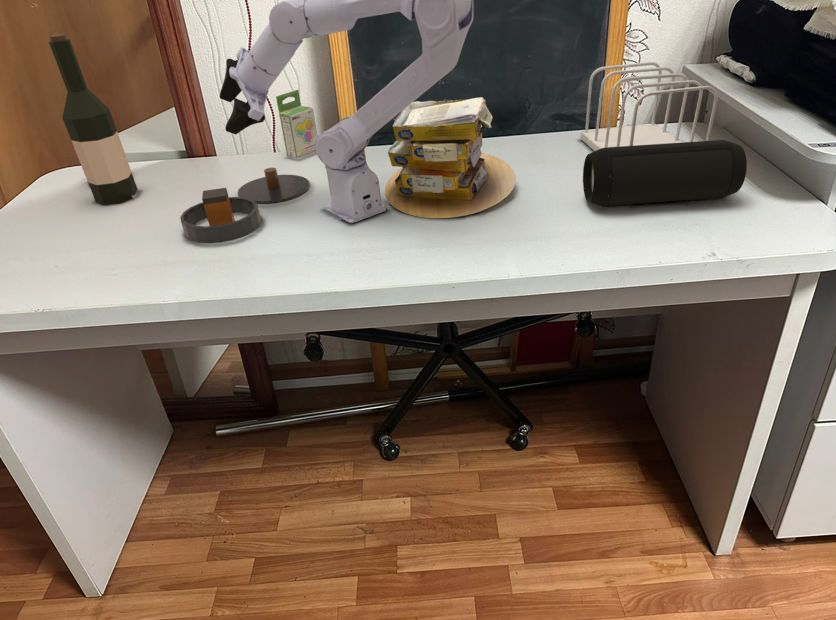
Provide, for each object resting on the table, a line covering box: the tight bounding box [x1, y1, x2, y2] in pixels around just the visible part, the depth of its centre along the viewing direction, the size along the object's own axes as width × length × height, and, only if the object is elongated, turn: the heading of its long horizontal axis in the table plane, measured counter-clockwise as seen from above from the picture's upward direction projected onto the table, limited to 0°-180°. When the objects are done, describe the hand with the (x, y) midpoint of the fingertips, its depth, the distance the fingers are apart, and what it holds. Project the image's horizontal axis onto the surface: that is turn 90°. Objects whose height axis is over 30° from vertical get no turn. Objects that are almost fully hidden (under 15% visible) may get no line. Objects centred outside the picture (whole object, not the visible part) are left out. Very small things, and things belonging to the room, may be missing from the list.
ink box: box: [275, 89, 319, 159], centre depth 139 cm, size 7×4×13 cm, turn 143°
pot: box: [179, 196, 262, 244], centre depth 110 cm, size 13×13×3 cm
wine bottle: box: [48, 33, 138, 206], centre depth 119 cm, size 8×8×30 cm
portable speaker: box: [582, 139, 748, 208], centre depth 108 cm, size 26×10×10 cm, turn 92°
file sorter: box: [580, 61, 719, 152], centre depth 126 cm, size 25×17×16 cm
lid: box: [237, 167, 311, 205], centre depth 123 cm, size 14×14×5 cm
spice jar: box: [201, 187, 236, 226], centre depth 109 cm, size 4×4×6 cm
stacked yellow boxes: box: [384, 96, 517, 219], centre depth 115 cm, size 25×25×17 cm
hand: (227, 115), depth 112 cm, fingers open, 7 cm apart
